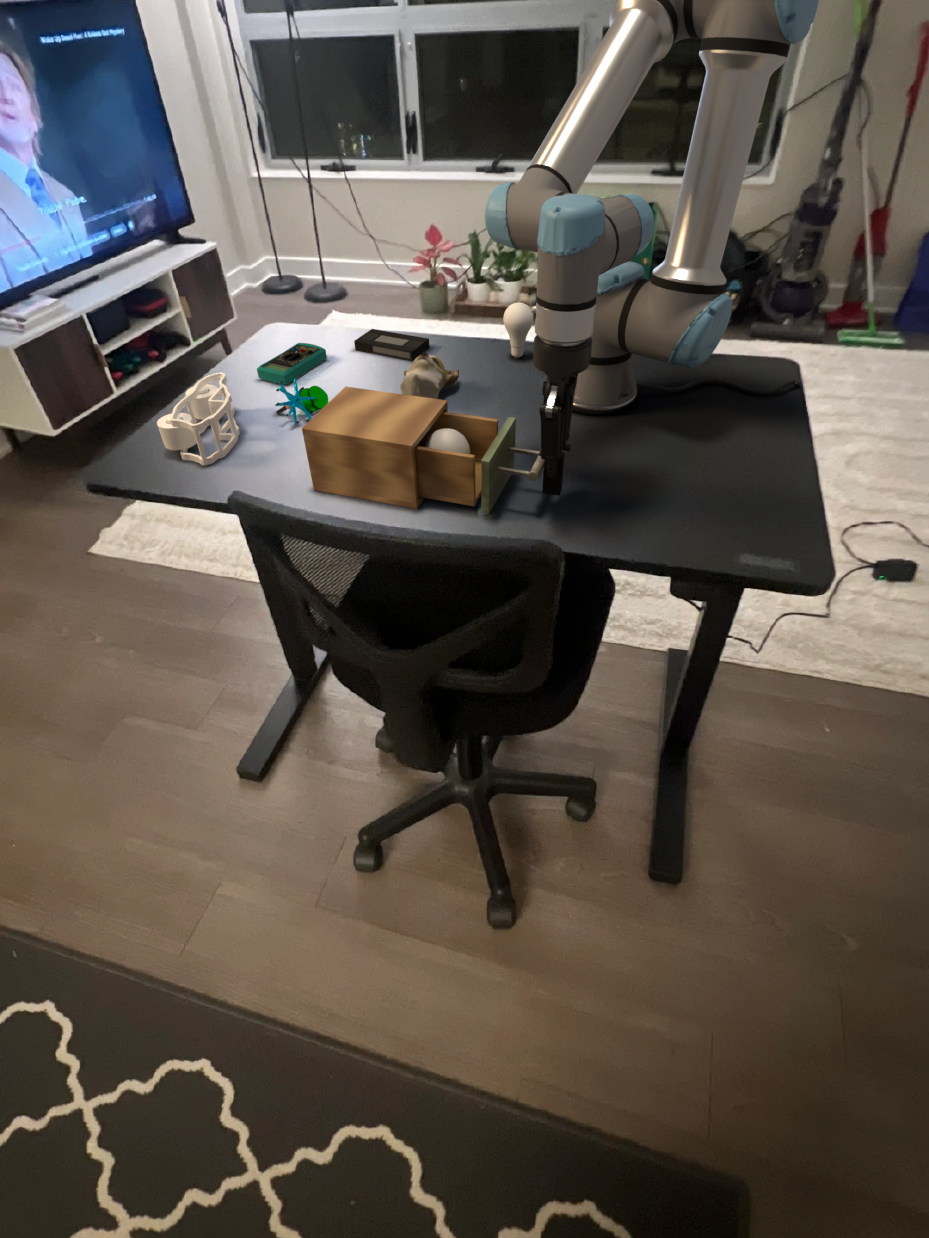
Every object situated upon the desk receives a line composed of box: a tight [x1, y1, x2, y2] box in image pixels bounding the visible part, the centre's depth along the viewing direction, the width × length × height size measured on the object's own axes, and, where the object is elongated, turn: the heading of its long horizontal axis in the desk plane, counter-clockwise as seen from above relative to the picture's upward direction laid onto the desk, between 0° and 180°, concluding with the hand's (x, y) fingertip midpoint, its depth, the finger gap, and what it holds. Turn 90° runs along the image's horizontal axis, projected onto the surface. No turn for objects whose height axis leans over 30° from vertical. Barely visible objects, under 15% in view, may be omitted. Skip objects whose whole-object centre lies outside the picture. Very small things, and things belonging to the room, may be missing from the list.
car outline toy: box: [156, 372, 241, 467], centre depth 125 cm, size 20×11×7 cm, turn 171°
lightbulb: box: [502, 301, 535, 359], centre depth 145 cm, size 6×6×11 cm
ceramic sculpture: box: [399, 351, 460, 399], centre depth 134 cm, size 11×9×15 cm
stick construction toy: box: [274, 378, 329, 425], centre depth 132 cm, size 12×7×8 cm
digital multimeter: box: [256, 342, 328, 386], centre depth 146 cm, size 7×15×3 cm, turn 153°
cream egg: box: [424, 429, 482, 460], centre depth 109 cm, size 10×7×7 cm
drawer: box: [414, 411, 544, 515], centre depth 109 cm, size 23×14×9 cm, turn 71°
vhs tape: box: [353, 328, 430, 362], centre depth 153 cm, size 8×14×2 cm, turn 64°
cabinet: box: [301, 385, 449, 510], centre depth 112 cm, size 18×15×11 cm
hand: (552, 491), depth 108 cm, fingers closed
